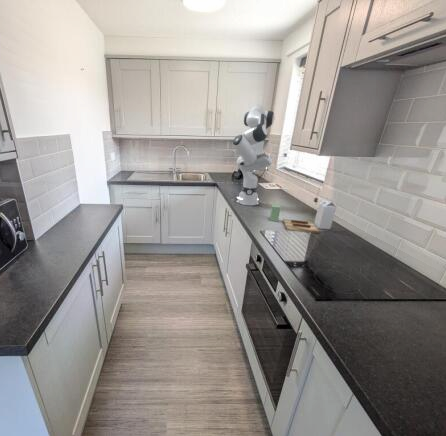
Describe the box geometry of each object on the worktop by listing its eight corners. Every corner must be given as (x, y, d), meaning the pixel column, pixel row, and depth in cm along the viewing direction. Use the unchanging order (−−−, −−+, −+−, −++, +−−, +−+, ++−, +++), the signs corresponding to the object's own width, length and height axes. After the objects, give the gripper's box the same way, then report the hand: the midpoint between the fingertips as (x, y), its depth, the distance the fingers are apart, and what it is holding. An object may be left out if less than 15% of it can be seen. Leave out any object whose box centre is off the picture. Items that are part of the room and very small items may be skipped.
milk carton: (324, 225, 152) (332, 197, 145) (330, 229, 145) (338, 200, 139) (313, 224, 152) (320, 197, 146) (318, 229, 146) (326, 200, 139)
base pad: (282, 220, 158) (283, 216, 157) (311, 224, 154) (312, 219, 153) (286, 229, 143) (287, 225, 142) (318, 233, 139) (319, 228, 138)
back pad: (269, 218, 161) (271, 204, 158) (277, 219, 160) (279, 205, 157) (270, 220, 158) (272, 206, 154) (277, 221, 157) (280, 207, 153)
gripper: (267, 148, 139) (277, 164, 146) (239, 158, 156) (250, 171, 162) (264, 156, 137) (275, 171, 144) (236, 164, 153) (247, 178, 160)
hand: (261, 171), depth 153 cm, fingers open, 8 cm apart
